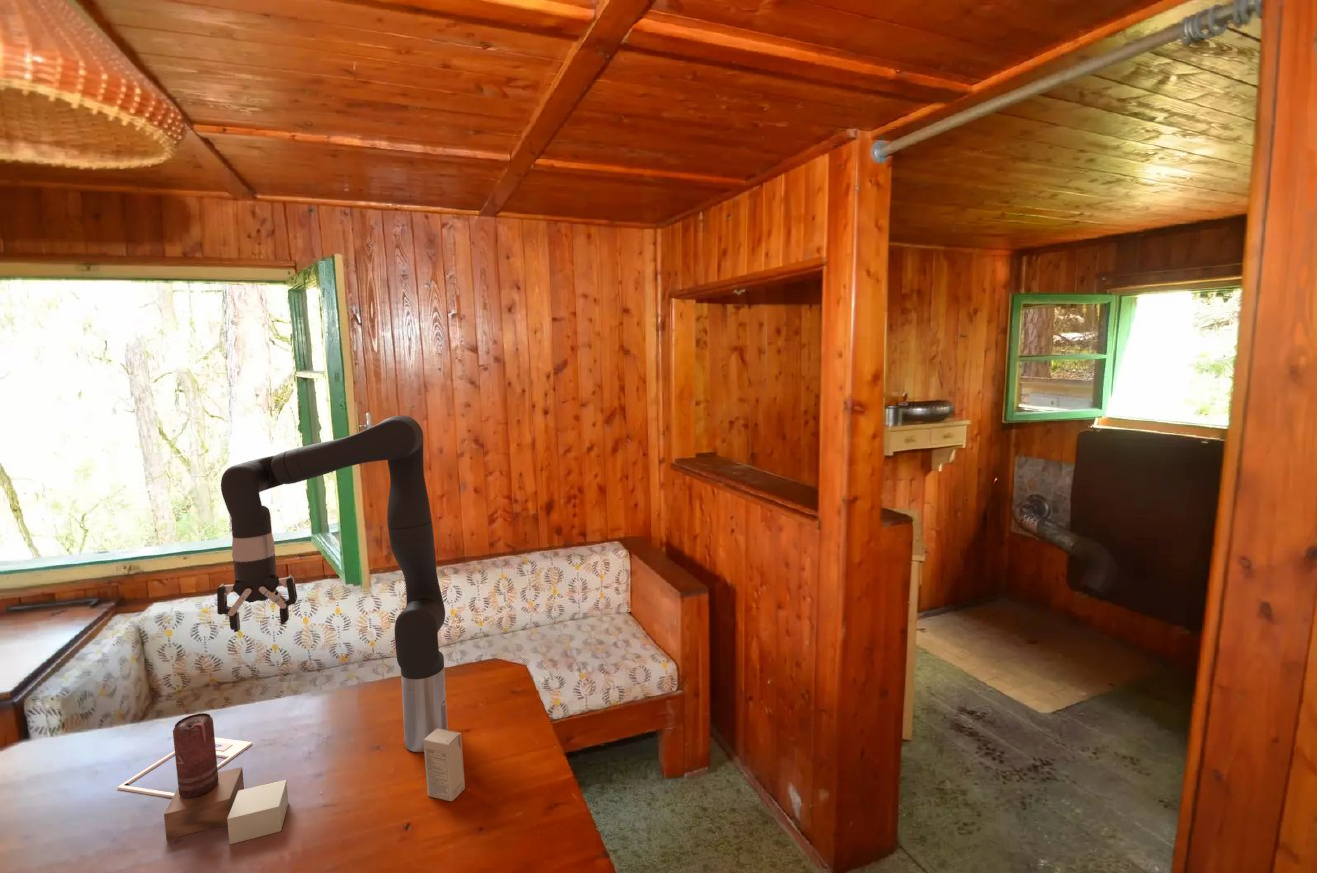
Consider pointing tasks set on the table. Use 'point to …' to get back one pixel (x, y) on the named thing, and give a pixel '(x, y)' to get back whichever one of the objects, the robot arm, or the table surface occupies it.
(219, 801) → the walnut block
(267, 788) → the cream block
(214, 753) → the can
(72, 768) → the table surface
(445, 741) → the skincare box
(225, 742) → the photo frame
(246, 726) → the table surface
